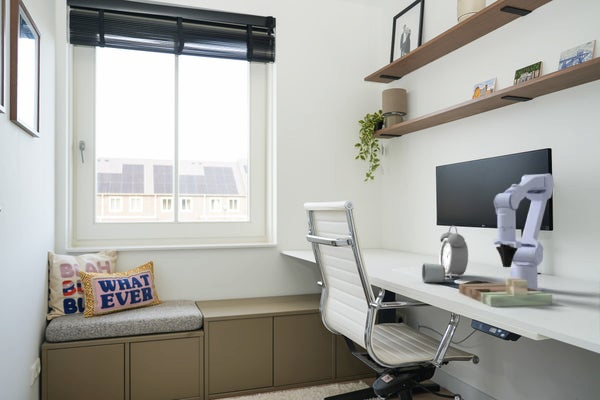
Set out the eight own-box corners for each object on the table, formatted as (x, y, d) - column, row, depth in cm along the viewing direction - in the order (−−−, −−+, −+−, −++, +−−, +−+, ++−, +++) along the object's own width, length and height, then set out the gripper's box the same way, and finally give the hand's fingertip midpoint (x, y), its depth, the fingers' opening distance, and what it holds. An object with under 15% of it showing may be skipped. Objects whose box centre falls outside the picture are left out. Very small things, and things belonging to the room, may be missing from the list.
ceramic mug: (446, 284, 181) (446, 264, 181) (425, 283, 182) (425, 264, 182) (439, 280, 192) (439, 261, 192) (419, 280, 192) (419, 261, 192)
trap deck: (459, 292, 163) (459, 284, 164) (512, 291, 165) (512, 282, 165) (490, 306, 142) (490, 296, 142) (552, 304, 144) (552, 294, 144)
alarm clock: (437, 274, 207) (437, 224, 207) (456, 273, 207) (456, 224, 207) (449, 280, 190) (449, 226, 191) (470, 279, 190) (470, 226, 191)
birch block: (505, 292, 147) (505, 278, 147) (519, 292, 148) (519, 278, 148) (513, 295, 143) (513, 280, 143) (527, 295, 143) (527, 280, 143)
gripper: (485, 226, 167) (485, 264, 167) (506, 228, 153) (507, 270, 152) (503, 226, 168) (504, 264, 168) (527, 228, 153) (527, 269, 153)
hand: (506, 267), depth 160 cm, fingers closed
